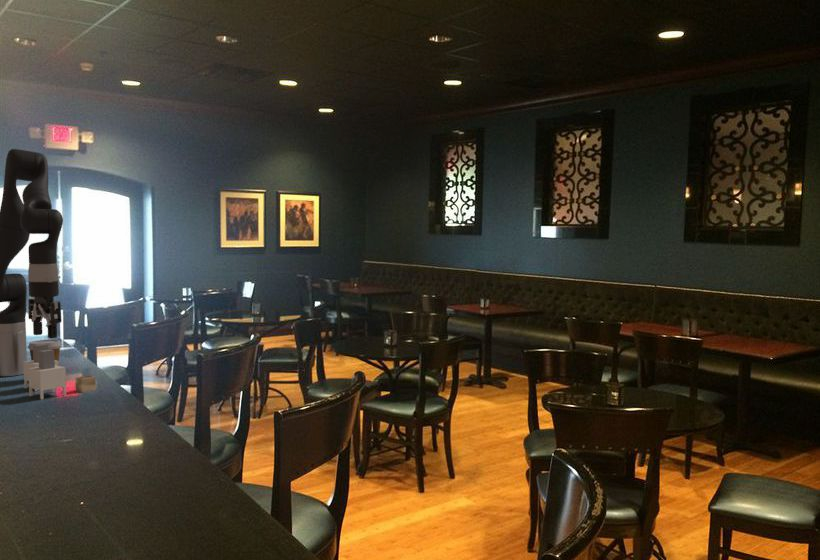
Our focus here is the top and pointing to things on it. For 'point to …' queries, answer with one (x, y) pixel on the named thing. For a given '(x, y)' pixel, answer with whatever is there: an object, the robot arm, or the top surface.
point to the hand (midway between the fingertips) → (45, 336)
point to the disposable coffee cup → (51, 344)
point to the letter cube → (85, 383)
